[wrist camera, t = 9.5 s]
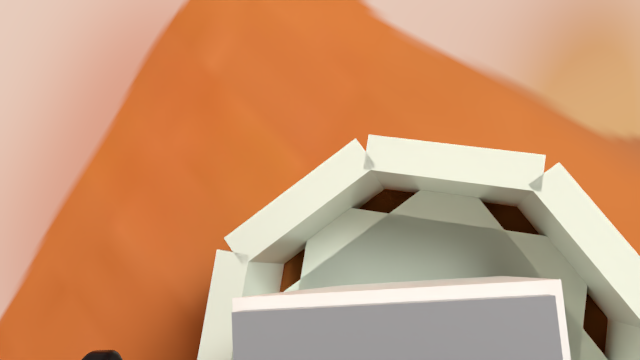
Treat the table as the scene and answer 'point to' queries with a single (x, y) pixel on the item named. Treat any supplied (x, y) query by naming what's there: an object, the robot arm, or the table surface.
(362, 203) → the sage bowl
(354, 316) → the pebble canister
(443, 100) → the table surface
